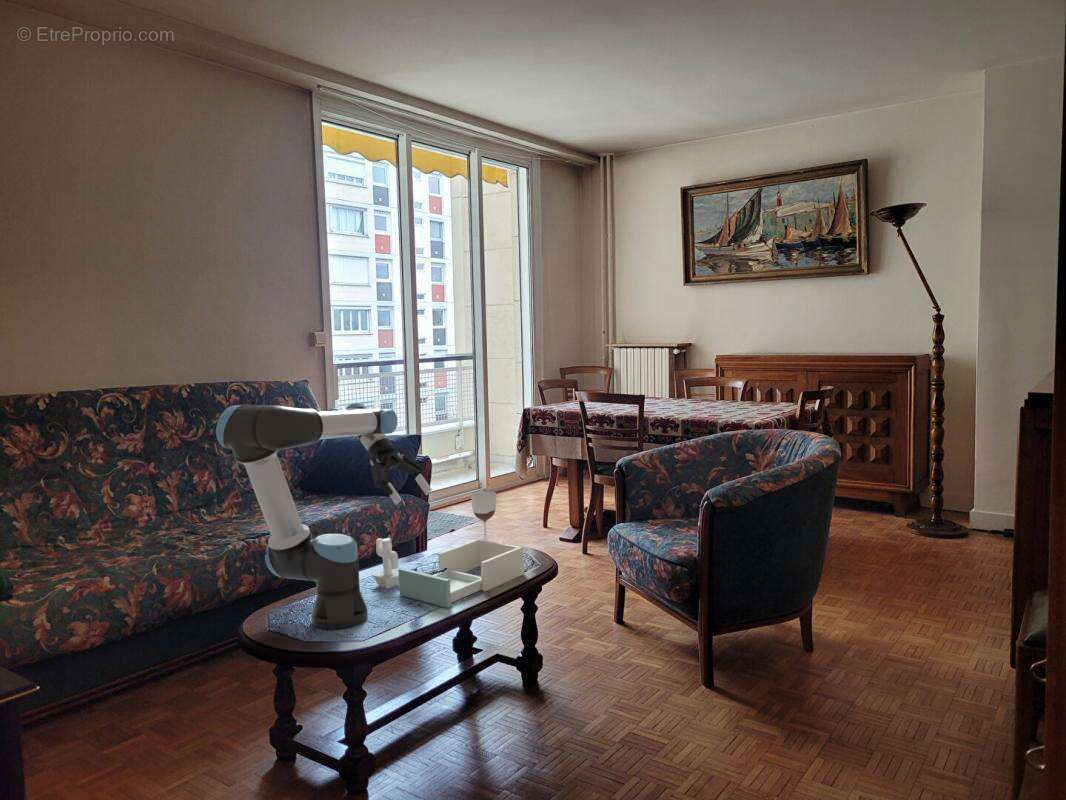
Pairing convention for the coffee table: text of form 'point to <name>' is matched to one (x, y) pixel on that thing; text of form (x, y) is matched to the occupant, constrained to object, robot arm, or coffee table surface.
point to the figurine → (387, 564)
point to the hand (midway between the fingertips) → (414, 497)
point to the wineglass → (484, 506)
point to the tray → (438, 586)
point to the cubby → (485, 561)
